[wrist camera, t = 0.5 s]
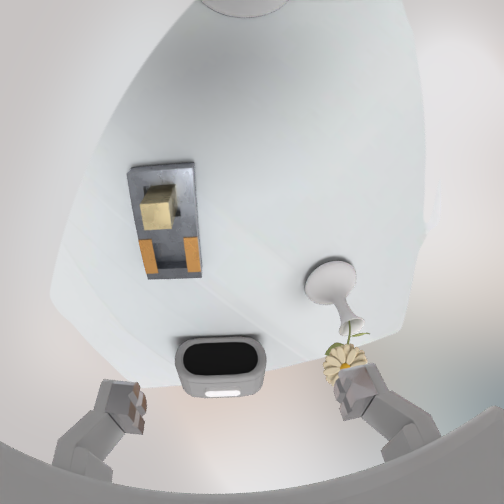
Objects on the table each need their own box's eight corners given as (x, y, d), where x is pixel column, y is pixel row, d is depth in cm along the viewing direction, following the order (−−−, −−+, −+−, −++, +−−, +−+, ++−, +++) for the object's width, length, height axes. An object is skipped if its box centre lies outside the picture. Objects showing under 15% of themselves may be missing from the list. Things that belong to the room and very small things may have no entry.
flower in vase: (343, 246, 52) (404, 347, 32) (358, 281, 58) (408, 373, 38) (286, 278, 55) (320, 389, 34) (308, 308, 61) (341, 406, 41)
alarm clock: (262, 332, 64) (271, 380, 53) (259, 354, 69) (267, 398, 58) (176, 335, 62) (172, 383, 51) (182, 356, 67) (180, 401, 56)
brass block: (150, 185, 40) (139, 204, 34) (175, 183, 40) (168, 202, 34) (153, 208, 42) (144, 230, 36) (177, 207, 42) (171, 228, 37)
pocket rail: (132, 167, 39) (126, 174, 36) (194, 162, 40) (192, 168, 37) (150, 269, 50) (147, 280, 47) (202, 267, 51) (201, 278, 48)
